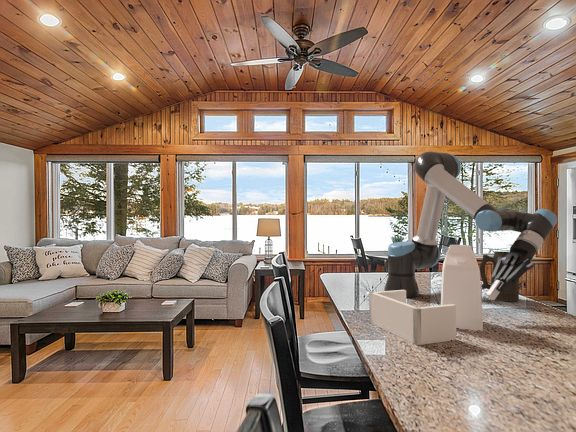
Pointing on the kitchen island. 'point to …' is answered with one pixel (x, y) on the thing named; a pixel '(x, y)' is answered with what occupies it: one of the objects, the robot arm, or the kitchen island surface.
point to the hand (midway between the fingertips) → (490, 297)
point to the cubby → (412, 318)
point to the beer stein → (507, 293)
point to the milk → (462, 286)
